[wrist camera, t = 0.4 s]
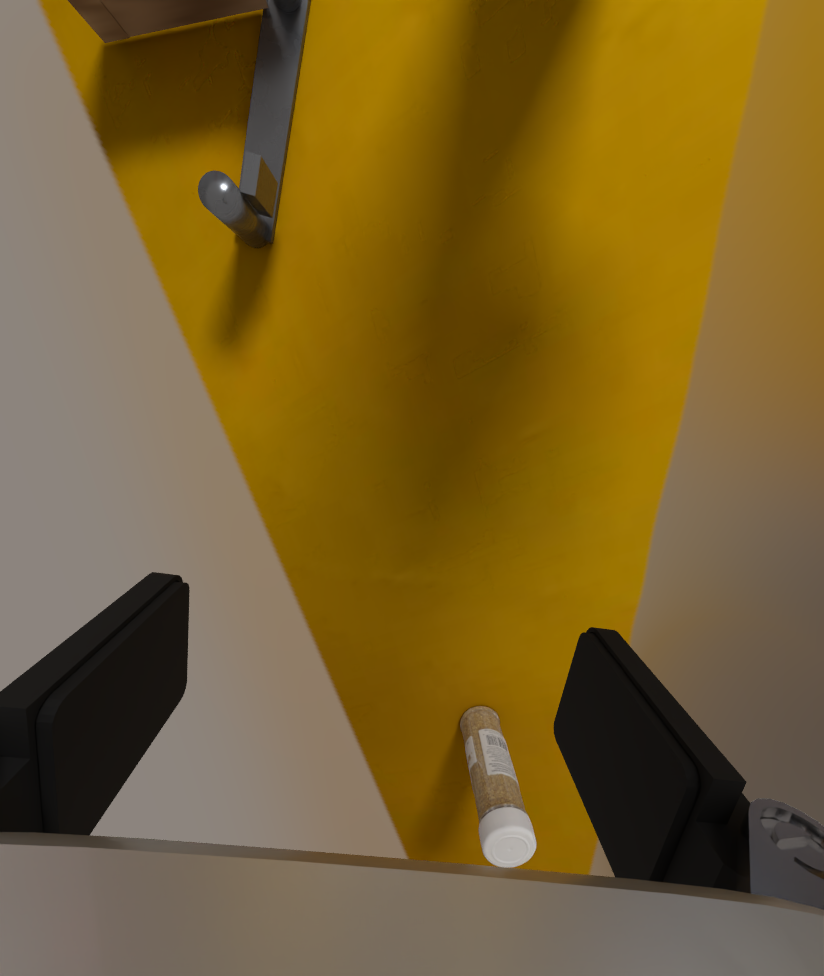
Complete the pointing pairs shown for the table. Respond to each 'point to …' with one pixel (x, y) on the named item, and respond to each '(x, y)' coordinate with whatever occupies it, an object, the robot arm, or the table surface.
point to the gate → (155, 14)
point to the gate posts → (263, 129)
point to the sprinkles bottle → (496, 791)
